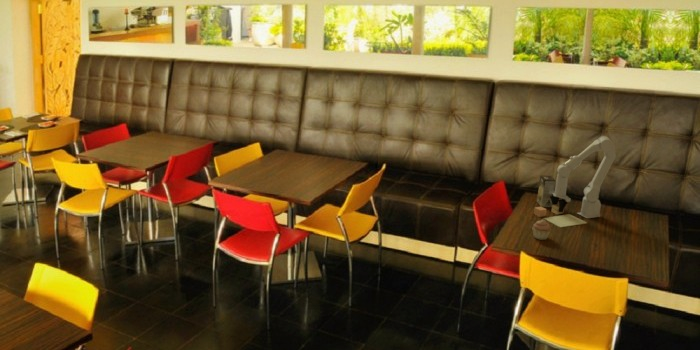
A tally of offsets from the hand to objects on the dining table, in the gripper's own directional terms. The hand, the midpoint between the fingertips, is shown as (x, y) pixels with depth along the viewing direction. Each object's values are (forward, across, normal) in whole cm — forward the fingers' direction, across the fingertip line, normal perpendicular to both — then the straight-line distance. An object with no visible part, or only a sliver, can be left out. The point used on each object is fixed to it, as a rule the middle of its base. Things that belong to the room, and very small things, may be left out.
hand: (557, 210), depth 329 cm
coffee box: (+2, -13, +2) cm, 13 cm away
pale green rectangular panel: (+1, +12, -5) cm, 13 cm away
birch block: (+1, 0, 0) cm, 1 cm away
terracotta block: (+2, 0, -12) cm, 12 cm away
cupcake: (+2, +25, -33) cm, 41 cm away
